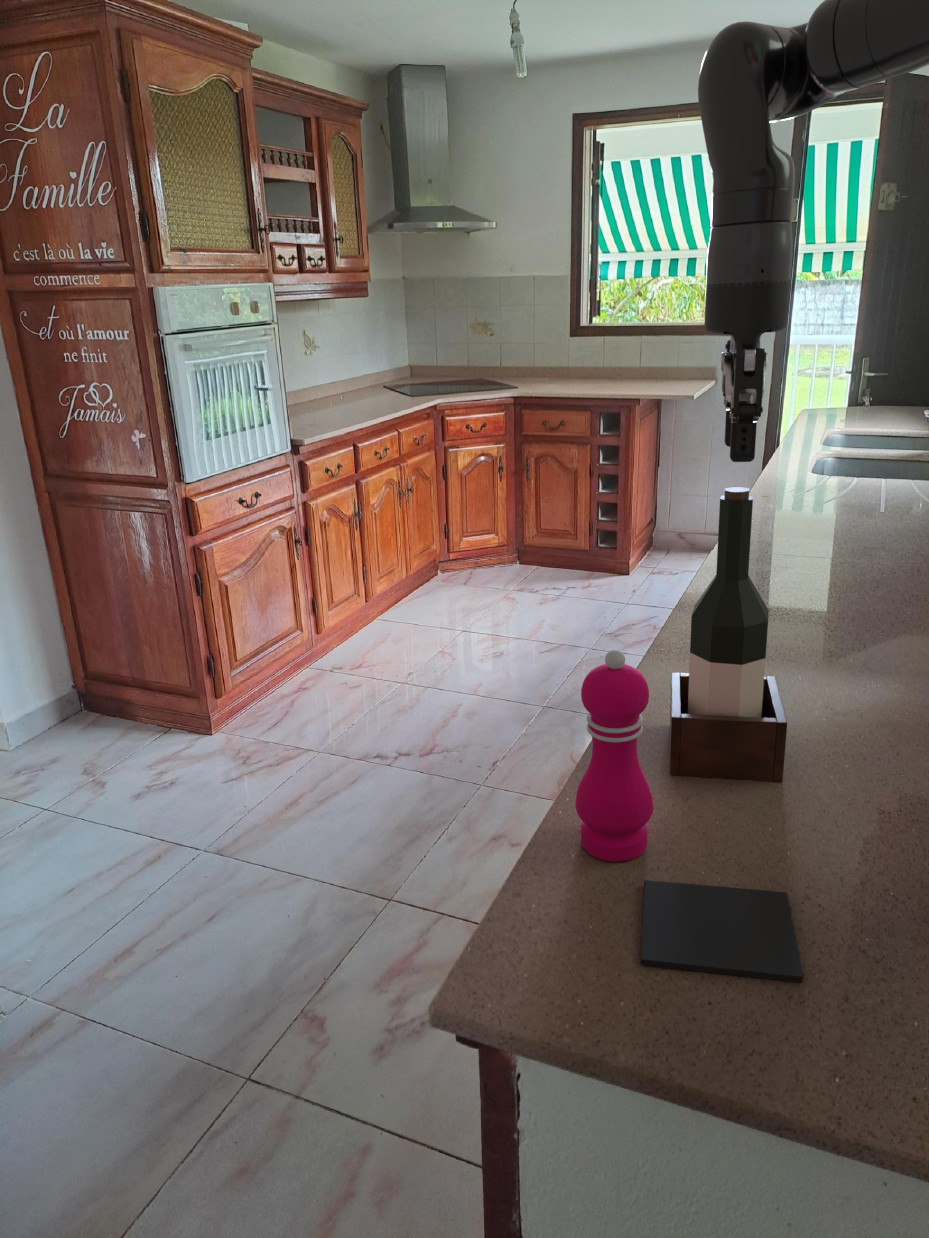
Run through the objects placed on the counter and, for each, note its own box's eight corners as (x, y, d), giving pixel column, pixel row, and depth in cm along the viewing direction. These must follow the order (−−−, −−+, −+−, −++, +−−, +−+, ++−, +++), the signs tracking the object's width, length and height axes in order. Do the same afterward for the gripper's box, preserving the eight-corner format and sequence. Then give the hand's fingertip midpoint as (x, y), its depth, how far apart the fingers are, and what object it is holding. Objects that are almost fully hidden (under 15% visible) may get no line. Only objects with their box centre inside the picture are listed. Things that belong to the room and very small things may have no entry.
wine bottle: (745, 731, 103) (762, 478, 93) (773, 767, 95) (794, 495, 85) (675, 737, 103) (684, 483, 92) (697, 773, 95) (709, 501, 84)
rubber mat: (786, 897, 75) (787, 892, 75) (802, 982, 66) (803, 976, 66) (644, 885, 78) (644, 879, 78) (640, 965, 69) (640, 959, 69)
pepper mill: (641, 873, 80) (645, 671, 73) (565, 856, 83) (562, 661, 76) (660, 829, 86) (665, 640, 79) (588, 815, 89) (587, 631, 82)
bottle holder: (771, 730, 103) (775, 676, 101) (782, 782, 93) (787, 722, 90) (669, 725, 106) (671, 672, 103) (669, 775, 95) (671, 717, 93)
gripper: (801, 275, 74) (787, 467, 80) (781, 276, 87) (770, 440, 93) (709, 281, 76) (701, 468, 81) (703, 280, 89) (697, 442, 94)
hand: (738, 453), depth 87 cm, fingers open, 8 cm apart
